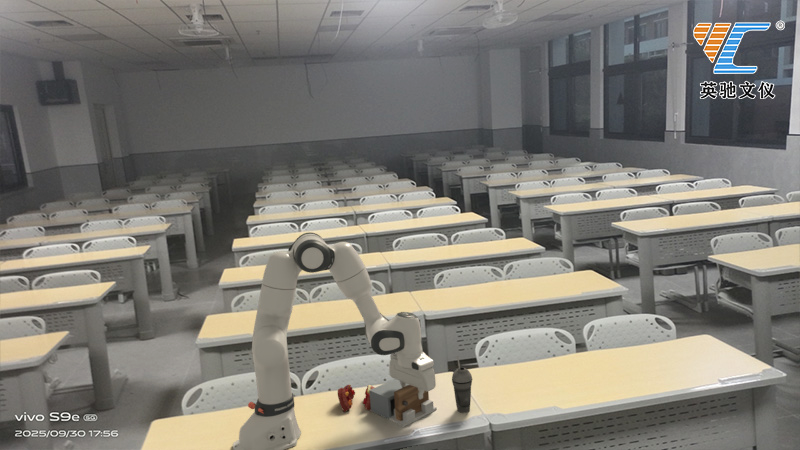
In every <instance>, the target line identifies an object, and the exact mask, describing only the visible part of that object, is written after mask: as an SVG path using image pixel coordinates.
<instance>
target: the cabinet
mask: <svg viewBox="0 0 800 450" xmlns="http://www.w3.org/2000/svg"><path fill="white" fill-rule="evenodd" d="M406 384H407V383H406ZM407 385H409V384H407ZM401 388H402V386H401V384H400V381H399V380H397V379H394V378H392V379H391V380H389V381H387V382H385V383H383V384H381V385H378V386H376V387H375V386H374V388H373V389H371V390H369V392H370V405H371V410H370V412H372V413H374V414H376V415H378V416H381V417H382V418H385V419H387V420H389V421H391V422H393V423H395V424H397V425H399V426H401V427H406V426H408V425H410V424H412V423H414V422H416V421H418V420H419V419H422V418H423V417H426V416H428V415H429V414H431V413H433V412H435V411H437V407H436V406H434V401H433V400H431V399H429V400H427V401H425V402H423V403H421V409H422V410H421V411H420V412H418V413H416V414H415V410H413V409H409V410H407V411H405V412H403V420H402V421H399V420H397V419H396V413H395V399H394V392H395V391H397V390H399V389H401Z"/></svg>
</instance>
